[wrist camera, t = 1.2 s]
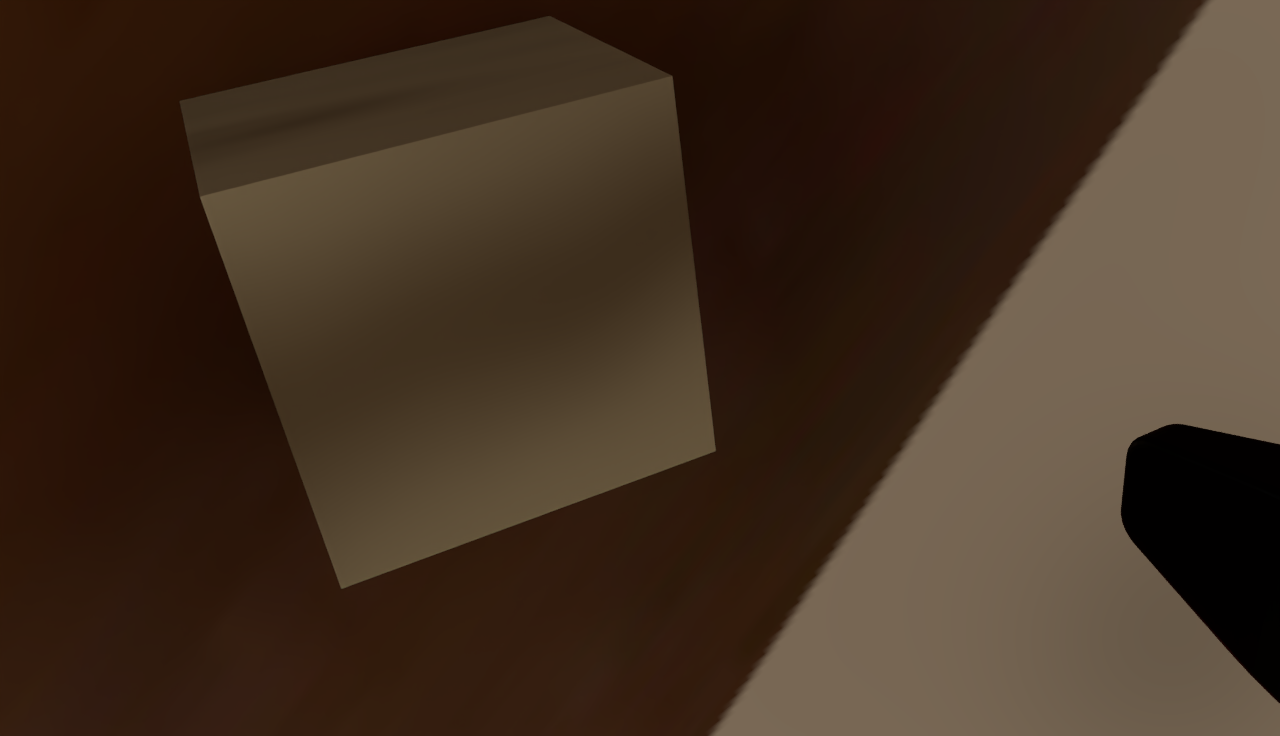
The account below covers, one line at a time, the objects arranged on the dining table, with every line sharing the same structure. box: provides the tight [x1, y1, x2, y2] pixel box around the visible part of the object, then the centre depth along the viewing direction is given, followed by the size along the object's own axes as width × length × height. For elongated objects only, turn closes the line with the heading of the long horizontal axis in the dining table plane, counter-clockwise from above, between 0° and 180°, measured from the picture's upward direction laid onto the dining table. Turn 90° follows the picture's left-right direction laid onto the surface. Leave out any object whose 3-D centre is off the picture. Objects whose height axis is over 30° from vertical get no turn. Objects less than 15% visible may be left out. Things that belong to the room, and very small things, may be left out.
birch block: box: [179, 16, 716, 589], centre depth 17 cm, size 6×6×5 cm
